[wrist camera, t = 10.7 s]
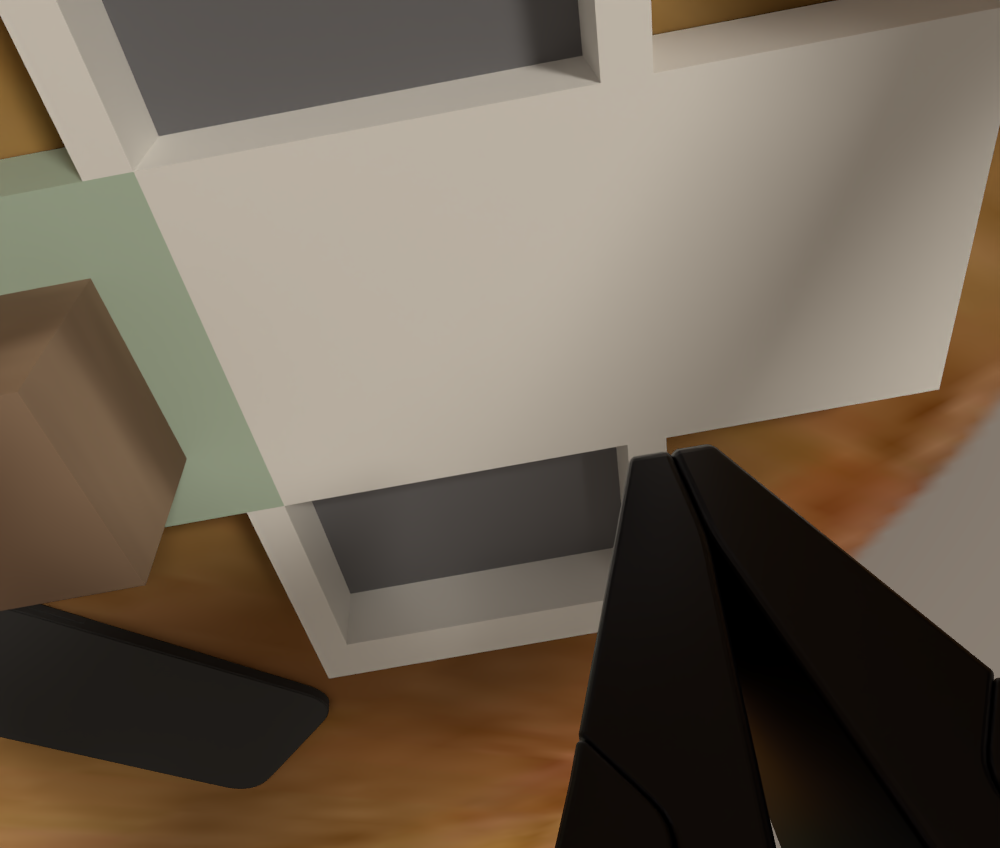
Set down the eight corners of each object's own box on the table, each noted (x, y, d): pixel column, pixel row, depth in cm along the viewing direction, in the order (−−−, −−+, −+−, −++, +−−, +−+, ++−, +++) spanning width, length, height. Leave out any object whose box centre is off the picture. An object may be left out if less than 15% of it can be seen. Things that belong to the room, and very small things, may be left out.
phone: (254, 795, 34) (-165, 702, 27) (256, 776, 34) (-152, 680, 28) (341, 703, 30) (-115, 573, 24) (342, 684, 31) (-101, 551, 25)
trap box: (1053, -572, 12) (1175, -640, 10) (859, 523, 27) (894, 580, 25) (-518, -247, 13) (-682, -253, 11) (134, 650, 28) (114, 715, 26)
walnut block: (90, 278, 17) (17, 392, 14) (186, 458, 20) (145, 584, 17) (-144, 322, 17) (-269, 445, 14) (-12, 494, 20) (-90, 627, 17)
